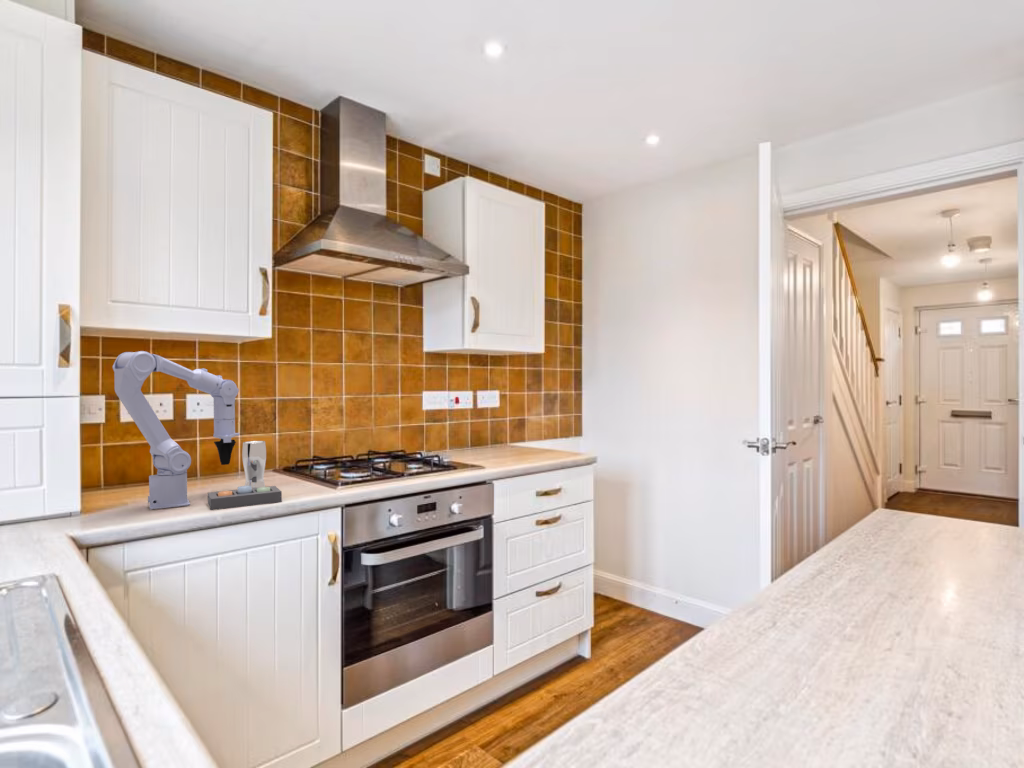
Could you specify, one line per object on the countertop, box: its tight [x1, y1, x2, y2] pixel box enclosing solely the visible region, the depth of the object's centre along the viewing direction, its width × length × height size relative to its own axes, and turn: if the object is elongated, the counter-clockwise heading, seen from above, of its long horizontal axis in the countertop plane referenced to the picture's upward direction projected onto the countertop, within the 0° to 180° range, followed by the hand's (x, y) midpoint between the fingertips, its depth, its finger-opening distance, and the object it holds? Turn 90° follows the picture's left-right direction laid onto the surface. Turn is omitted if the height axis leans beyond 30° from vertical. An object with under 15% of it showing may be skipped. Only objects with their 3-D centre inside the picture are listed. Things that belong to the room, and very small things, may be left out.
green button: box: [257, 486, 270, 492], centre depth 168 cm, size 4×4×3 cm
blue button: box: [237, 485, 252, 494], centre depth 166 cm, size 4×4×3 cm
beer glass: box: [241, 440, 267, 488], centre depth 186 cm, size 7×7×15 cm
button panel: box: [207, 485, 283, 511], centre depth 166 cm, size 18×10×3 cm, turn 122°
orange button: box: [217, 490, 232, 496], centre depth 163 cm, size 4×4×3 cm
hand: (225, 464), depth 176 cm, fingers closed
